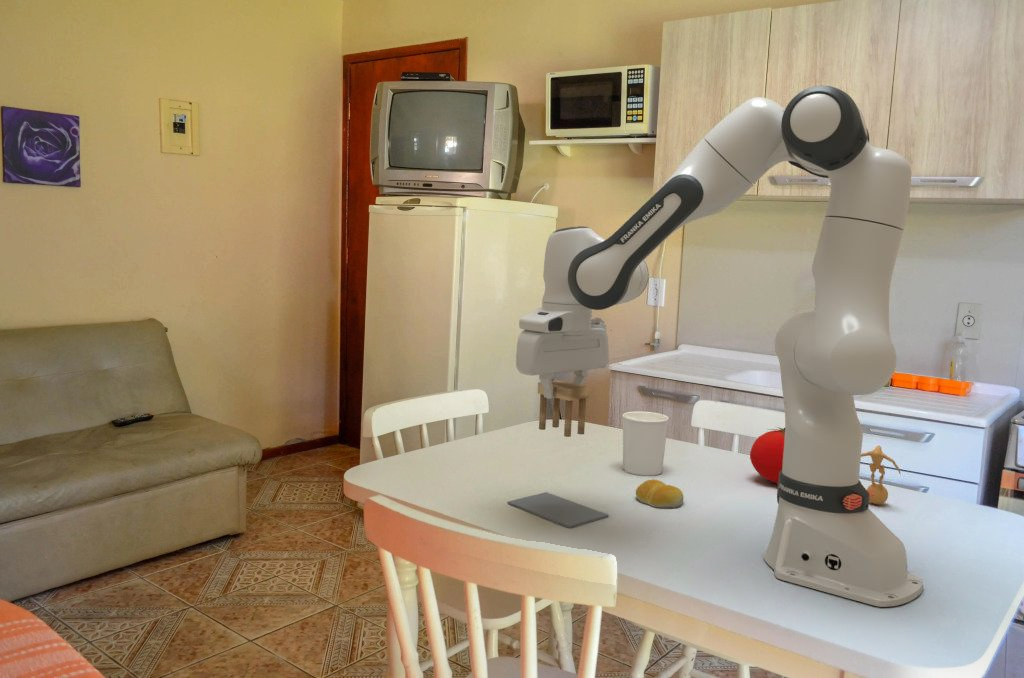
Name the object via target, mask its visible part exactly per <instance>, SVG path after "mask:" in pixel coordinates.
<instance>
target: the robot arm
mask: <svg viewBox="0 0 1024 678" xmlns="http://www.w3.org/2000/svg"><path fill="white" fill-rule="evenodd" d="M869 134H870V133H869V130H868V128H867V124H866V119H865V116H864V115H863V113H862V110H861V109H860V108H859V107H858V105H857V104H856V102H855V101H854V99H853V98H852V97H851V96H850V95H849V94H848V93H847V92H845V91H844V90H842V89H840V88H837V87H834V86H831V85H816V86H811V87H808V88H806V89H804V90H802V91H800V92H798V93H797V94H796V95H795V96H794V97H793V98H791V100H790V101H789V103H787V105H786V106H785V108H783V106H782V105H780V103H778V102H777V101H775V100H772V99H770V98H768V97H763V96H756V97H752V98H749V99H747V100H745V101H744V102H743V103H742V104H740V105H739V106H737V107H736V108H734V109H733V110H732V111H730V112H729V113H728V114H727V115H726V116H725V117H723V118H722V119H721V120H720V121H718V123H717V124H715V126H713V128H712V129H710V131H708V132H707V134H705V136H704V137H703V138H702V139H701V140H700V141H699V142H698V143H697V144H696V145H695V146H694V148H693V149H692V150H691V151H690V152H689V153H688V154H687V155H686V157H685V158H684V159H683V161H682V162H681V163H680V164H679V165H678V167H677V168H676V169H675V170H674V171H673V173H672V174H671V175H670V176H669V177H668V179H666V181H665V182H664V183H663V184H662V186H661V187H660V188H659V189H658V190H657V192H656V193H655V194H653V196H651V197H650V198H649V199H648V200H647V201H646V202H645V203H643V205H642V206H641V207H640V208H639V209H638V210H637V211H636V212H635V213H634V214H632V216H630V217H629V218H628V220H626V221H625V222H624V223H623V224H622V225H620V227H619V228H618V229H617V230H615V232H614V233H613V234H612V235H611V236H609V237H607V238H606V239H605V238H604V237H602V236H600V235H599V234H598V233H597V232H595V231H594V230H593V229H592V228H591V227H588V226H582V225H581V226H578V225H577V226H569V227H563V228H558V229H557V230H555V231H552V233H550V234H549V237H548V239H547V242H546V246H545V252H544V253H545V254H544V260H543V261H544V263H543V275H542V276H543V277H542V278H543V282H544V294H543V296H542V300H541V301H542V302H541V303H542V304H541V307H539V308H537V309H536V310H533V311H532V312H529V313H527V314H525V315H523V316H521V317H520V318H519V321H518V322H519V323H518V326H519V329H520V330H522V331H521V332H520V333H519V336H518V338H517V343H516V353H515V355H516V356H515V367H516V369H517V371H518V372H519V374H522V375H526V376H533V377H534V376H539V377H538V378H539V381H540V382H541V383H542V385H543V387H544V397H545V398H547V400H549V399H554V398H556V392H557V388H553V385H552V382H551V381H553V379H554V374H559V373H568V372H570V373H571V372H573V375H575V376H574V379H573V381H572V383H574V384H578V385H583V386H584V383H585V381H586V379H587V377H588V371H589V370H597V369H605V368H606V367H607V365H608V363H609V362H610V361H609V359H610V356H609V355H610V354H609V352H610V351H609V339H608V337H609V335H608V332H607V324H606V323H605V321H604V320H603V319H602V318H601V317H592V315H593V310H594V311H603V310H606V309H609V308H611V307H613V306H617V305H620V304H624V303H629V302H631V301H633V300H635V299H637V298H638V297H640V296H641V294H643V293H644V291H645V290H646V288H647V286H648V283H649V275H650V274H649V269H648V265H647V263H646V261H645V260H646V259H647V258H648V257H649V256H650V255H651V254H652V253H653V252H655V250H656V249H657V248H658V247H660V246H661V244H663V243H664V242H665V241H666V240H667V239H668V238H669V237H670V236H671V235H672V234H673V233H675V232H676V231H677V230H679V229H681V227H683V226H685V225H688V224H689V223H691V222H692V223H693V221H697V220H698V219H703V218H705V217H710V216H714V215H716V214H718V213H720V212H722V211H724V210H726V208H728V207H730V206H731V205H733V204H734V203H735V202H736V201H738V200H739V199H740V198H742V197H743V196H744V195H745V194H746V193H747V192H748V191H750V190H751V189H752V187H754V185H756V183H757V182H759V180H760V179H761V178H762V177H763V176H764V175H765V174H766V173H767V172H768V171H770V170H771V169H772V168H773V167H774V166H776V165H778V164H780V163H782V162H788V163H789V164H790V165H791V166H794V167H795V168H799V169H800V170H803V171H805V172H807V173H809V174H811V175H814V176H815V177H819V178H823V179H828V180H829V183H830V192H829V198H828V204H827V207H826V210H825V214H824V217H823V221H822V226H821V229H820V234H819V238H818V241H817V245H816V249H815V254H814V257H813V261H812V266H811V271H812V276H813V278H814V289H815V290H814V291H815V293H814V294H815V296H814V311H806V312H804V313H800V314H796V315H793V316H791V317H789V318H788V319H787V320H785V321H784V322H783V323H782V324H781V326H779V328H778V330H777V332H776V334H775V337H774V351H775V352H776V356H777V359H778V362H779V370H780V380H781V388H782V390H781V391H782V398H783V399H782V400H783V406H784V407H783V408H784V422H785V424H784V425H785V427H784V428H785V439H784V453H783V467H782V470H781V471H780V472H779V479H778V483H777V490H776V491H777V492H776V499H777V500H776V502H777V510H776V511H777V512H776V516H775V520H774V521H775V522H774V525H773V528H772V529H773V530H772V534H771V537H770V540H769V543H768V546H767V549H766V551H765V553H764V555H763V559H764V561H765V562H766V564H767V565H768V566H770V568H771V569H772V570H774V571H773V573H774V576H775V577H776V579H779V580H781V581H784V582H788V583H792V584H795V585H799V586H803V587H807V588H810V589H813V590H817V591H821V592H825V593H828V594H832V595H835V596H839V597H841V598H846V599H849V600H853V601H858V602H861V603H864V604H867V605H871V606H875V607H879V608H882V607H883V608H885V607H886V608H887V607H896V606H899V605H904V604H906V603H909V602H911V601H914V600H915V599H917V598H918V597H919V596H920V595H921V594H922V592H923V589H924V583H923V579H922V578H921V576H919V575H916V574H914V573H911V572H909V570H908V558H907V552H906V547H905V544H904V543H903V541H902V540H901V539H900V538H899V537H898V536H897V535H896V534H894V532H892V530H890V528H889V527H888V526H887V525H885V524H884V522H883V521H882V520H881V519H879V517H877V515H876V514H875V513H874V512H873V511H872V510H871V509H870V507H869V505H870V501H869V498H871V497H874V495H872V494H873V493H874V491H875V490H874V489H872V490H870V491H867V488H865V486H864V485H863V484H862V482H861V481H860V470H861V458H862V457H861V454H862V447H863V438H864V437H863V436H864V434H863V433H864V431H863V426H862V424H861V421H860V419H859V417H858V414H857V409H856V405H855V400H854V398H855V397H854V396H864V395H865V396H866V395H869V394H870V395H871V394H873V393H876V392H878V391H879V390H881V389H883V388H884V387H885V386H886V385H887V384H888V383H889V382H890V380H891V379H892V377H893V375H894V374H895V371H896V367H897V351H896V348H895V347H894V344H893V341H892V340H891V335H890V294H891V293H890V292H891V282H892V278H893V272H894V269H895V265H896V260H897V256H898V252H899V250H900V249H899V248H900V244H901V241H902V238H903V232H904V228H905V226H906V220H907V217H908V216H907V215H908V210H909V205H910V197H911V189H912V188H911V187H912V169H911V168H912V167H911V165H910V163H909V162H908V160H907V159H906V158H905V157H904V156H903V155H901V154H900V153H898V152H897V151H894V150H891V149H888V148H884V147H882V148H881V147H877V146H874V145H872V144H871V143H870V135H869Z"/></svg>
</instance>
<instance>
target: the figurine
mask: <svg viewBox="0 0 1024 678" xmlns="http://www.w3.org/2000/svg"><path fill="white" fill-rule="evenodd" d="M867 456H870V458H871V463H869V469H870V472H871V474H870V479H871V484H870V485H869V486H868V487H867V488H866V490H867V491H870V490H872V489H874V490H875V491H874V493H873V494H872V495H874V497H871V498H869V503H871V504H873V505H876V506H877V505H883V504H884V503H885V502H887V500H888V498H889V493H888V492H889V491H888V489H887V488H886V487H885V486H884V485H883V482H882V481H883V480H884V476H885V474H886V471H885V468H886V467H885V465H884V464H882V462H883V460H884V459H885V460H887V461H889V462H891V463H892V465H893V466H894V468H895V469H896V470H897V471H898V474H901V470H900V468H899V466H898V464H897V463H896V461H895V460H894V459H893V458H891V457H890V456H888V455H887V454H885V453H884V452H883V451H882V446H881V445H877V446H876V447H875V448H874V449H873V450H870V451H866V452H863V453H861V458H862V457H867ZM877 470H878V473H880V474H881V475H880V476H879V479H878V483H876V482H875V478H876V477H875V473H876V472H877Z"/></svg>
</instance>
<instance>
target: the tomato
mask: <svg viewBox="0 0 1024 678" xmlns="http://www.w3.org/2000/svg"><path fill="white" fill-rule="evenodd" d="M775 427H776V428H771V429H770V428H768V430H770V431H767V432H765V433H763V434H761V435H759V436H758V437H757V438H756V439H755V441H754V442H753V444H752V446H751V449H750V453H749V459H750V462H751V464H752V466H753V469H754V470H755V471H756V472H757V473H758V474H759V475H760V476H761V477H762V478H764V479H766V480H768V481H770V482H773V483H775V484H778V479H779V472H780V471H781V470H782V467H783V453H784V439H785V427H783V428H781V427H778V426H775Z"/></svg>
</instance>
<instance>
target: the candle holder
mask: <svg viewBox="0 0 1024 678" xmlns="http://www.w3.org/2000/svg"><path fill="white" fill-rule="evenodd" d="M669 419H670V418H669V416H668V415H665V414H663V413H659V412H653V411H639V410H638V411H636V410H635V411H628V412H624V413H622V468H623V470H624V472H626V473H629V474H632V475H636V476H643V477H644V476H647V477H652V476H658V475H660V474H661V473H662V471H663V468H664V467H663V466H664V458H665V450H666V441H667V432H668V425H669V421H670V420H669Z"/></svg>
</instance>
